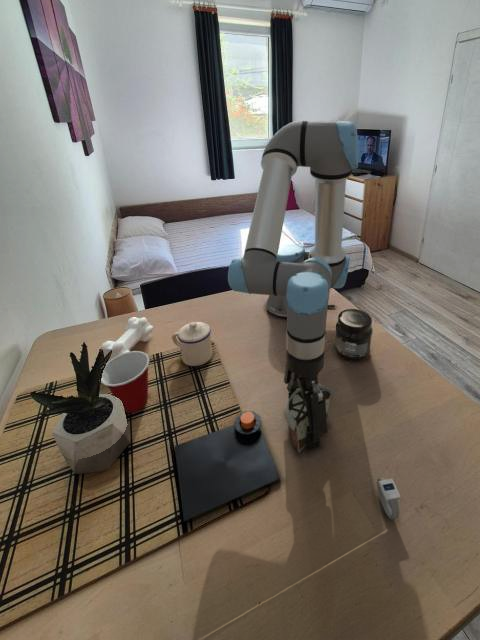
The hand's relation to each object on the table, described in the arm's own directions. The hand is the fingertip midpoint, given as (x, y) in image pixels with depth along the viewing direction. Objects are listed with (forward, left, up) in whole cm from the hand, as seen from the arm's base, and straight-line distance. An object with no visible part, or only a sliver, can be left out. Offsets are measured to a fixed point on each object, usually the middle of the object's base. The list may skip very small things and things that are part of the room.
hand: (302, 429), depth 73 cm
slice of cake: (0, 0, 0) cm, 0 cm away
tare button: (+11, -5, +2) cm, 12 cm away
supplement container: (-25, -18, 0) cm, 31 cm away
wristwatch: (-7, +20, 0) cm, 21 cm away
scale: (+18, +1, 0) cm, 18 cm away
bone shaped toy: (+36, -44, 0) cm, 57 cm away
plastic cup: (+35, -23, 0) cm, 42 cm away
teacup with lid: (+19, -35, 0) cm, 40 cm away
